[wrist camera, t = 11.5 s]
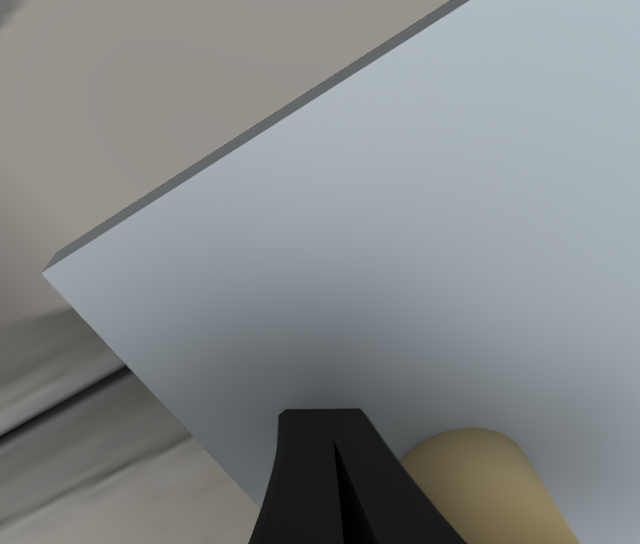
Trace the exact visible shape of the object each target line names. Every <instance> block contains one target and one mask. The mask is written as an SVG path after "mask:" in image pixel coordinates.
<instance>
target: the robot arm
mask: <svg viewBox="0 0 640 544" xmlns="http://www.w3.org/2000/svg"><path fill="white" fill-rule="evenodd" d="M248 544H468V543H467V542H466V541H465V540H464V539H463V538H462V537H461V536H460V535H459V534H458V532H457V531H456V530H455V529H454V528H453V527H452V526H451V524H450V523H449V522H448V521H447V520H446V519H445V518H444V516H443V515H442V514H441V513H440V512H439V510H438V509H437V508H436V507H435V506H434V504H433V503H432V502H431V501H430V499H429V498H428V497H427V496H426V495H425V493H424V492H423V491H422V490H421V488H420V487H419V486H418V485H417V483H416V482H415V481H414V480H413V478H412V477H411V476H410V475H409V473H408V472H407V471H406V469H405V468H404V467H403V465H402V464H401V463H400V461H399V460H398V459H397V457H396V456H395V455H394V453H393V452H392V451H391V449H390V448H389V447H388V445H387V444H386V442H385V441H384V440H383V438H382V437H381V435H380V434H379V433H378V431H377V430H376V428H375V427H374V425H373V424H372V422H371V421H370V420H369V418H368V417H367V415H366V414H365V413H364V412H363V411H362V410H361V409H360V408H349V409H286V410H284V411H283V412H282V413H281V414H279V415H278V433H277V450H276V455H275V460H274V465H273V469H272V473H271V477H270V480H269V483H268V487H267V490H266V494H265V497H264V501H263V504H262V507H261V510H260V514H259V516H258V519H257V522H256V525H255V527H254V530H253V533H252V535H251V538H250V541H249V543H248Z"/></svg>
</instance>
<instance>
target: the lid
mask: <svg viewBox="0 0 640 544" xmlns="http://www.w3.org/2000/svg"><path fill="white" fill-rule="evenodd" d="M41 274H42V275H43V276H44V277H45V278H46V279H47V280H48V281H49V282H50V284H51V285H52V286H53V287H54V288H55V289H56V290H57V291H58V292H59V293H60V294H61V295H62V296H63V298H64V299H65V300H66V301H67V302H68V303H69V304H70V305H71V306H72V307H73V308H74V309H75V310H76V311H77V313H78V314H79V315H80V316H81V317H82V318H83V319H84V320H85V321H86V322H87V323H88V324H89V325H90V326H91V328H92V329H93V330H94V331H95V332H96V333H97V334H98V335H99V336H100V337H101V338H102V339H103V340H104V341H105V343H106V344H107V345H108V346H109V347H110V348H111V349H112V350H113V351H114V352H115V353H116V354H117V355H118V356H119V358H120V359H121V360H122V361H123V362H124V363H125V364H126V365H127V366H128V367H129V368H130V369H131V370H132V371H133V373H134V374H135V375H136V376H137V377H138V378H139V379H140V380H141V381H142V382H143V383H144V384H145V385H146V386H147V387H148V389H149V390H150V391H151V392H152V393H153V394H154V395H155V396H156V397H157V398H158V399H159V400H160V401H161V402H162V404H163V405H164V406H165V407H166V408H167V409H168V410H169V411H170V412H171V413H172V414H173V415H174V416H175V417H176V419H177V420H178V421H179V422H180V423H181V424H182V425H183V426H184V427H185V428H186V429H187V430H188V431H189V432H190V434H191V435H192V436H193V437H194V438H195V439H196V440H197V441H198V442H199V443H200V444H201V445H202V446H203V447H204V449H205V450H206V451H207V452H208V453H209V454H210V455H211V456H212V457H213V458H214V459H215V460H216V461H217V462H218V463H219V465H220V466H221V467H222V468H223V469H224V470H225V471H226V472H227V473H228V474H229V475H230V476H231V477H232V478H233V480H234V481H235V482H236V483H237V484H238V485H239V486H240V487H241V488H242V489H243V490H244V491H245V492H246V493H247V495H248V496H249V497H250V498H251V499H252V500H253V501H254V502H255V503H256V504H257V505H258V506H259V507H260V508H261V507H262V504H263V501H264V497H265V494H266V490H267V487H268V483H269V480H270V477H271V473H272V469H273V465H274V460H275V455H276V450H277V433H278V415H279V414H281V413H282V412H283V411H284V410H286V409H349V408H360V409H361V410H362V411H363V412H364V413H365V414H366V415H367V417H368V418H369V420H370V421H371V422H372V424H373V425H374V427H375V428H376V430H377V431H378V433H379V434H380V435H381V437H382V438H383V440H384V441H385V442H386V444H387V445H388V447H389V448H390V449H391V451H392V452H393V453H394V455H395V456H396V457H397V459H398V460H399V461H400V463H401V464H402V465H403V467H404V468H405V469H406V471H407V472H408V473H409V475H410V476H411V477H412V478H413V480H414V481H415V482H416V483H417V485H418V486H419V487H420V488H421V490H422V491H423V492H424V493H425V495H426V496H427V497H428V498H429V499H430V501H431V502H432V503H433V504H434V506H435V507H436V508H437V509H438V510H439V512H440V513H441V514H442V515H443V516H444V518H445V519H446V520H447V521H448V522H449V523H450V524H451V526H452V527H453V528H454V529H455V530H456V531H457V532H458V534H459V535H460V536H461V537H462V538H463V539H464V540H465V541H466V542H467V543H468V544H640V0H450V1H449V2H447V3H446V4H444V5H442V6H441V7H440V8H438V9H436V10H435V11H433V12H432V13H430V14H428V15H427V16H425V17H424V18H422V19H421V20H419V21H417V22H416V23H414V24H413V25H411V26H410V27H408V28H407V29H405V30H403V31H402V32H400V33H399V34H397V35H396V36H394V37H392V38H391V39H389V40H388V41H386V42H385V43H383V44H381V45H380V46H379V47H377V48H376V49H374V50H372V51H371V52H369V53H367V54H366V55H364V56H363V57H361V58H360V59H358V60H357V61H355V62H353V63H352V64H350V65H349V66H347V67H346V68H344V69H342V70H341V71H339V72H338V73H336V74H335V75H333V76H332V77H330V78H328V79H327V80H325V81H324V82H322V83H320V84H319V85H318V86H316V87H314V88H313V89H311V90H310V91H308V92H306V93H305V94H303V95H302V96H300V97H299V98H297V99H296V100H294V101H292V102H291V103H289V104H288V105H286V106H285V107H283V108H281V109H280V110H278V111H277V112H275V113H274V114H272V115H270V116H269V117H267V118H266V119H264V120H263V121H261V122H260V123H258V124H256V125H255V126H253V127H252V128H250V129H249V130H247V131H245V132H244V133H242V134H241V135H239V136H238V137H236V138H234V139H233V140H232V141H230V142H228V143H227V144H225V145H224V146H222V147H220V148H219V149H217V150H216V151H214V152H213V153H211V154H210V155H208V156H206V157H205V158H203V159H202V160H200V161H199V162H197V163H195V164H194V165H192V166H191V167H189V168H188V169H186V170H184V171H183V172H181V173H180V174H178V175H177V176H175V177H174V178H172V179H170V180H169V181H167V182H166V183H164V184H163V185H161V186H160V187H158V188H156V189H155V190H153V191H152V192H150V193H148V194H147V195H145V196H144V197H142V198H141V199H139V200H138V201H136V202H135V203H133V204H131V205H130V206H128V207H127V208H125V209H123V210H122V211H120V212H119V213H117V214H116V215H114V216H113V217H111V218H109V219H108V220H106V221H105V222H103V223H102V224H100V225H99V226H97V227H95V228H94V229H92V230H91V231H89V232H88V233H86V234H84V235H83V236H81V237H80V238H78V239H77V240H75V241H73V242H72V243H70V244H69V245H67V246H66V247H64V248H62V249H61V250H59V251H58V252H57V253H56V254H55V255H54V257H53V258H52V259H51V261H50V262H49V263H48V265H47V266H46V267H45V269H44V270H43V271H42V272H41Z"/></svg>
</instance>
